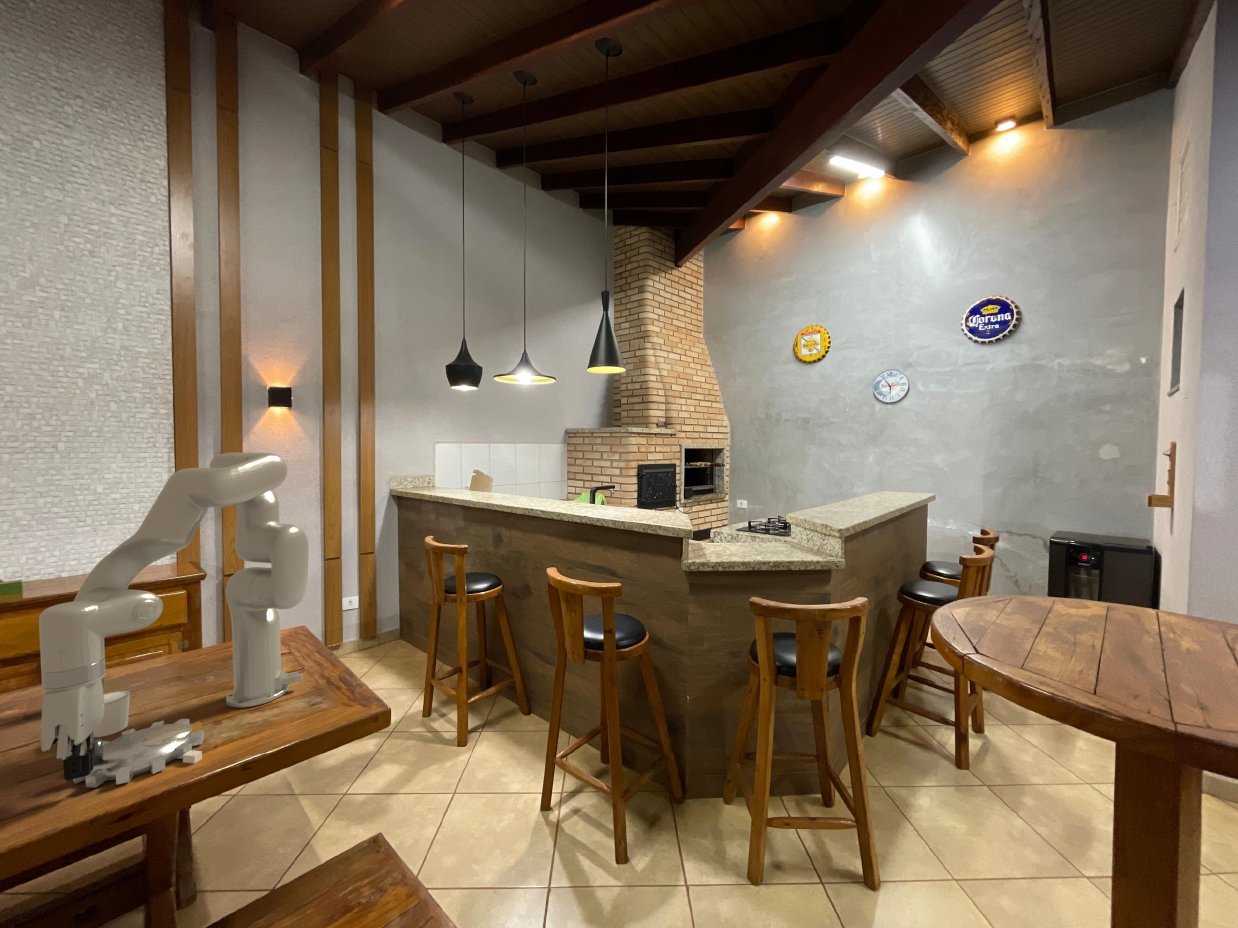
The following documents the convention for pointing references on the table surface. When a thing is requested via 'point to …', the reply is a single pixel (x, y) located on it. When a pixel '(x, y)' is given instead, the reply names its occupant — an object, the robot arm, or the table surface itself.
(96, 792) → the table surface
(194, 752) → the block
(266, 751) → the table surface
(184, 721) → the index wheel
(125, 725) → the white cup
